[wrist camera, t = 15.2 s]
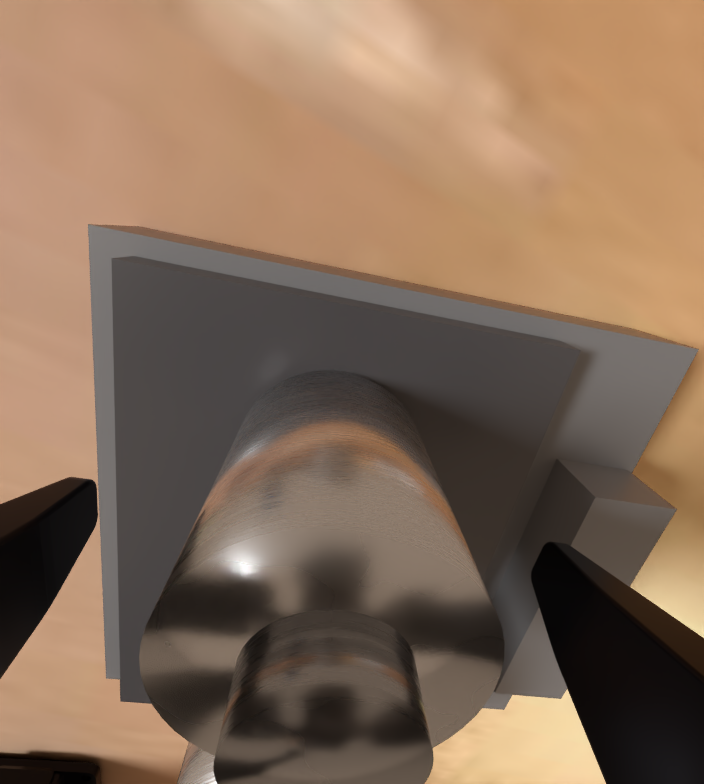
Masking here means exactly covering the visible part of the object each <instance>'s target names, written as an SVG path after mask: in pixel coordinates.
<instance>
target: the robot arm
mask: <svg viewBox="0 0 704 784" xmlns="http://www.w3.org/2000/svg"><path fill="white" fill-rule="evenodd" d="M97 517H98V510H97V488H96V484H95V482H94V481H93V480H90V479H83V478H76V477H69V478H66V479H63V480H61V481H58V482H55V483H53V484H50V485H48V486H45V487H43V488H40V489H38V490H35V491H33V492H30V493H28V494H25V495H23V496H20V497H18V498H15V499H13V500H10V501H8V502H5V503H3V504H0V679H1V677H2V676H3V674H4V673H5V671H6V670H7V669H8V667H9V666H10V664H11V663H12V661H13V660H14V659H15V657H16V656H17V654H18V653H19V651H20V650H21V649H22V647H23V646H24V644H25V643H26V641H27V640H28V638H29V637H30V636H31V634H32V633H33V631H34V630H35V628H36V627H37V626H38V624H39V623H40V621H41V620H42V618H43V617H44V615H45V614H46V612H47V611H48V609H49V607H50V606H51V604H52V602H53V601H54V599H55V597H56V596H57V594H58V592H59V590H60V589H61V587H62V585H63V583H64V582H65V580H66V578H67V576H68V574H69V573H70V571H71V569H72V567H73V566H74V564H75V562H76V560H77V558H78V557H79V555H80V553H81V551H82V549H83V548H84V546H85V544H86V542H87V541H88V539H89V537H90V535H91V533H92V532H93V530H94V528H95V525H96V522H97ZM531 582H532V586H533V589H534V592H535V595H536V598H537V602H538V605H539V608H540V611H541V614H542V618H543V621H544V624H545V627H546V631H547V634H548V637H549V640H550V643H551V646H552V649H553V652H554V655H555V658H556V661H557V664H558V666H559V669H560V671H561V674H562V676H563V679H564V681H565V684H566V686H567V689H568V691H569V694H570V696H571V698H572V701H573V703H574V706H575V708H576V711H577V713H578V716H579V718H580V720H581V723H582V725H583V728H584V730H585V733H586V735H587V738H588V740H589V743H590V745H591V747H592V750H593V752H594V755H595V757H596V760H597V762H598V765H599V767H600V770H601V772H602V774H603V777H604V779H605V782H606V784H704V638H703V637H701V636H700V635H698V634H697V633H695V632H694V631H693V630H691V629H690V628H688V627H687V626H685V625H684V624H682V623H681V622H680V621H678V620H677V619H675V618H674V617H672V616H671V615H669V614H668V613H667V612H665V611H664V610H662V609H661V608H659V607H658V606H657V605H655V604H654V603H652V602H651V601H649V600H648V599H646V598H645V597H644V596H642V595H641V594H639V593H638V592H636V591H635V590H633V589H632V588H631V587H629V586H628V585H626V584H625V583H623V582H622V581H620V580H619V579H618V578H616V577H615V576H613V575H612V574H610V573H609V572H607V571H606V570H605V569H603V568H602V567H600V566H599V565H597V564H596V563H595V562H593V561H592V560H590V559H589V558H587V557H586V556H584V555H583V554H582V553H580V552H579V551H577V550H576V549H574V548H573V547H571V546H570V545H568V544H565V543H559V542H552V541H550V542H547V543H545V544H544V545H543V547H542V549H541V551H540V553H539V555H538V557H537V560H536V562H535V564H534V566H533V568H532V571H531ZM0 784H101V774H100V767H99V766H98V765H96V764H94V763H83V762H64V761H46V760H28V759H9V758H0Z"/></svg>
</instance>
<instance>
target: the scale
mask: <svg viewBox="0 0 704 784" xmlns="http://www.w3.org/2000/svg"><path fill="white" fill-rule="evenodd" d="M88 235H89V260H90V285H91V310H92V335H93V360H94V385H95V410H96V435H97V460H98V485H99V510H100V535H101V560H102V586H103V611H104V636H105V661H106V678H108V679H120V699H121V701H123V702H136V703H150V704H152V703H151V701H150V699H149V697H148V695H147V693H146V691H145V688H144V685H143V681H142V678H141V675H140V664H139V654H140V645H141V640H142V637H143V633H144V630H145V627H146V624H147V622H148V620H149V618H150V616H151V614H152V612H153V610H154V608H155V605H156V603H157V601H158V599H159V597H160V595H161V593H162V591H163V589H164V587H165V585H166V582H167V580H168V578H169V576H170V574H171V572H172V570H173V568H174V566H175V564H176V562H177V559H178V557H179V555H180V553H181V551H182V549H183V547H184V545H185V543H186V541H187V539H188V536H189V534H190V532H191V530H192V528H193V526H194V524H195V522H196V520H197V518H198V516H199V513H200V511H201V509H202V507H203V505H204V503H205V501H206V499H207V497H208V495H209V492H210V490H211V488H212V486H213V484H214V482H215V480H216V478H217V476H218V474H219V472H220V469H221V467H222V465H223V463H224V461H225V459H226V457H227V455H228V453H229V451H230V449H231V446H232V444H233V442H234V440H235V438H236V436H237V434H238V432H239V430H240V428H241V426H242V423H243V421H244V419H245V418H246V416H247V414H248V412H249V410H250V409H251V408H252V406H253V405H254V404H255V402H256V401H257V400H258V399H259V398H260V397H261V396H262V395H263V394H264V393H265V392H267V391H268V390H269V389H271V388H272V387H273V386H275V385H277V384H278V383H280V382H282V381H284V380H286V379H288V378H291V377H293V376H296V375H299V374H303V373H307V372H312V371H320V370H338V371H346V372H351V373H355V374H359V375H362V376H364V377H367V378H370V379H372V380H374V381H376V382H377V383H379V384H381V385H383V386H384V387H385V388H387V389H388V390H390V391H391V392H392V393H393V394H394V395H395V396H396V397H397V398H398V399H399V400H400V401H401V402H402V403H403V405H404V406H405V407H406V408H407V410H408V412H409V414H410V415H411V417H412V419H413V421H414V424H415V426H416V428H417V431H418V433H419V435H420V437H421V440H422V442H423V444H424V447H425V449H426V451H427V454H428V456H429V458H430V460H431V463H432V465H433V467H434V470H435V472H436V474H437V477H438V479H439V481H440V484H441V486H442V488H443V490H444V493H445V495H446V497H447V500H448V502H449V504H450V507H451V509H452V511H453V513H454V516H455V518H456V520H457V523H458V525H459V527H460V530H461V532H462V534H463V536H464V539H465V541H466V543H467V546H468V548H469V550H470V553H471V555H472V557H473V560H474V562H475V564H476V566H477V569H478V571H479V573H480V576H481V578H482V580H483V583H484V585H485V587H486V589H487V592H488V594H489V596H490V599H491V601H492V603H493V606H494V608H495V610H496V613H497V615H498V618H499V621H500V623H501V626H502V630H503V636H504V642H505V647H504V662H503V666H502V671H501V675H500V677H499V680H498V682H497V685H496V687H495V689H494V691H493V693H492V694H491V696H490V697H489V699H488V701H487V702H486V704H485V705H484V706H483V707H482V708H490V709H503V710H504V709H505V707H506V705H507V704H508V702H509V700H510V698H511V696H512V695H523V696H535V697H547V698H559V699H561V698H562V696H563V694H564V693H565V691H566V690H567V686H566V684H565V681H564V679H563V676H562V674H561V671H560V669H559V666H558V664H557V661H556V658H555V655H554V652H553V649H552V646H551V643H550V640H549V637H548V634H547V631H546V627H545V624H544V621H543V618H542V614H541V611H540V608H539V605H538V602H537V598H536V595H535V592H534V589H533V586H532V582H531V571H532V568H533V566H534V564H535V562H536V560H537V557H538V555H539V553H540V551H541V549H542V547H543V545H544V544H545V543H547V542H550V541H552V542H559V543H565V544H568V545H570V546H571V547H573V548H574V549H576V550H577V551H579V552H580V553H582V554H583V555H584V556H586V557H587V558H589V559H590V560H592V561H593V562H595V563H596V564H597V565H599V566H600V567H602V568H603V569H605V570H606V571H607V572H609V573H610V574H612V575H613V576H615V577H616V578H618V579H619V580H620V581H622V582H623V583H625V584H626V585H628V586H629V587H630V585H631V583H632V582H633V580H634V579H635V577H636V575H637V574H638V572H639V570H640V569H641V567H642V565H643V564H644V562H645V561H646V559H647V557H648V556H649V554H650V552H651V551H652V549H653V548H654V546H655V544H656V543H657V541H658V539H659V538H660V536H661V534H662V533H663V531H664V530H665V528H666V526H667V525H668V523H669V521H670V520H671V518H672V517H673V515H674V513H675V512H676V510H677V509H676V508H674V507H673V506H672V505H671V504H669V503H668V502H667V501H666V500H664V499H663V498H662V497H661V496H659V495H658V494H657V493H656V492H654V491H653V490H652V489H651V488H649V487H648V486H647V485H646V484H644V483H643V482H642V481H641V480H639V479H638V478H637V477H636V476H634V475H633V474H632V472H633V470H634V468H635V466H636V465H637V463H638V461H639V459H640V457H641V455H642V453H643V452H644V450H645V448H646V446H647V444H648V442H649V440H650V439H651V437H652V435H653V433H654V431H655V429H656V428H657V426H658V424H659V422H660V420H661V418H662V416H663V415H664V413H665V411H666V409H667V407H668V405H669V403H670V402H671V400H672V398H673V396H674V394H675V392H676V390H677V389H678V387H679V385H680V383H681V381H682V379H683V377H684V376H685V374H686V372H687V370H688V368H689V366H690V365H691V363H692V361H693V359H694V357H695V355H696V353H697V352H698V350H699V349H696V348H693V347H689V346H686V345H683V344H680V343H677V342H673V341H670V340H667V339H664V338H661V337H657V336H654V335H651V334H648V333H645V332H641V331H638V330H635V329H631V328H626V327H621V326H616V325H611V324H607V323H602V322H597V321H592V320H587V319H582V318H578V317H573V316H568V315H563V314H558V313H553V312H549V311H544V310H539V309H534V308H529V307H525V306H520V305H515V304H510V303H505V302H500V301H496V300H491V299H486V298H481V297H476V296H471V295H467V294H462V293H457V292H452V291H447V290H442V289H438V288H433V287H428V286H423V285H418V284H414V283H409V282H404V281H399V280H394V279H389V278H385V277H380V276H375V275H370V274H365V273H360V272H356V271H351V270H346V269H341V268H336V267H331V266H327V265H322V264H317V263H312V262H307V261H303V260H298V259H293V258H288V257H283V256H278V255H274V254H269V253H264V252H259V251H254V250H249V249H245V248H240V247H235V246H230V245H225V244H220V243H216V242H211V241H206V240H201V239H196V238H192V237H187V236H182V235H177V234H172V233H167V232H163V231H158V230H153V229H148V228H143V227H138V226H116V225H93V224H88Z"/></svg>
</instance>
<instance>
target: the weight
mask: <svg viewBox="0 0 704 784" xmlns="http://www.w3.org/2000/svg"><path fill="white" fill-rule="evenodd" d="M504 647H505V642H504V636H503V630H502V626H501V623H500V621H499V618H498V615H497V613H496V610H495V608H494V606H493V603H492V601H491V599H490V596H489V594H488V592H487V589H486V587H485V585H484V583H483V580H482V578H481V576H480V573H479V571H478V569H477V566H476V564H475V562H474V560H473V557H472V555H471V553H470V550H469V548H468V546H467V543H466V541H465V539H464V536H463V534H462V532H461V530H460V527H459V525H458V523H457V520H456V518H455V516H454V513H453V511H452V509H451V507H450V504H449V502H448V500H447V497H446V495H445V493H444V490H443V488H442V486H441V484H440V481H439V479H438V477H437V474H436V472H435V470H434V467H433V465H432V463H431V460H430V458H429V456H428V454H427V451H426V449H425V447H424V444H423V442H422V440H421V437H420V435H419V433H418V431H417V428H416V426H415V424H414V421H413V419H412V417H411V415H410V414H409V412H408V410H407V408H406V407H405V406H404V405H403V403H402V402H401V401H400V400H399V399H398V398H397V397H396V396H395V395H394V394H393V393H392V392H391V391H390V390H388V389H387V388H385V387H384V386H383V385H381V384H379V383H377V382H376V381H374V380H372V379H370V378H367V377H364V376H362V375H359V374H355V373H351V372H346V371H338V370H320V371H312V372H307V373H303V374H299V375H296V376H293V377H291V378H288V379H286V380H284V381H282V382H280V383H278V384H277V385H275V386H273V387H272V388H271V389H269V390H268V391H267V392H265V393H264V394H263V395H262V396H261V397H260V398H259V399H258V400H257V401H256V402H255V404H254V405H253V406H252V408H251V409H250V410H249V412H248V414H247V416H246V418H245V419H244V421H243V423H242V426H241V428H240V430H239V432H238V434H237V436H236V438H235V440H234V442H233V444H232V446H231V449H230V451H229V453H228V455H227V457H226V459H225V461H224V463H223V465H222V467H221V469H220V472H219V474H218V476H217V478H216V480H215V482H214V484H213V486H212V488H211V490H210V492H209V495H208V497H207V499H206V501H205V503H204V505H203V507H202V509H201V511H200V513H199V516H198V518H197V520H196V522H195V524H194V526H193V528H192V530H191V532H190V534H189V536H188V539H187V541H186V543H185V545H184V547H183V549H182V551H181V553H180V555H179V557H178V559H177V562H176V564H175V566H174V568H173V570H172V572H171V574H170V576H169V578H168V580H167V582H166V585H165V587H164V589H163V591H162V593H161V595H160V597H159V599H158V601H157V603H156V605H155V608H154V610H153V612H152V614H151V616H150V618H149V620H148V622H147V624H146V627H145V630H144V633H143V637H142V640H141V645H140V654H139V664H140V675H141V678H142V681H143V685H144V688H145V691H146V693H147V695H148V697H149V699H150V701H151V703H152V705H153V706H154V708H155V709H156V710H157V712H158V713H159V714H160V716H161V717H162V718H163V719H164V720H165V721H166V722H167V723H168V725H169V726H170V727H171V728H172V729H173V730H174V731H176V732H177V733H178V734H180V735H181V736H182V737H183V738H185V739H186V740H187V741H189V742H190V743H192V744H194V745H195V746H197V747H199V748H200V749H202V750H204V751H205V752H208V753H210V754H212V755H214V756H215V759H214V766H213V772H214V776H215V780H216V782H217V784H424V783H425V782H426V780H427V778H428V777H429V775H430V772H431V770H432V766H433V750H432V748H433V747H435V746H437V745H438V744H440V743H442V742H443V741H445V740H447V739H448V738H450V737H451V736H452V735H454V734H455V733H456V732H458V731H459V730H461V729H462V728H463V727H464V726H465V725H466V724H467V723H468V722H469V721H471V720H472V719H473V718H474V717H475V716H476V715H477V713H478V712H479V711H480V710H481V709H482V707H483V706H484V705H485V704H486V702H487V701H488V699H489V697H490V696H491V694H492V693H493V691H494V689H495V687H496V685H497V682H498V680H499V677H500V675H501V671H502V666H503V662H504Z"/></svg>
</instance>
